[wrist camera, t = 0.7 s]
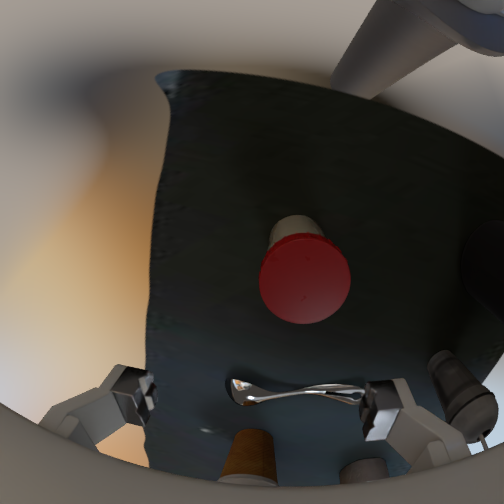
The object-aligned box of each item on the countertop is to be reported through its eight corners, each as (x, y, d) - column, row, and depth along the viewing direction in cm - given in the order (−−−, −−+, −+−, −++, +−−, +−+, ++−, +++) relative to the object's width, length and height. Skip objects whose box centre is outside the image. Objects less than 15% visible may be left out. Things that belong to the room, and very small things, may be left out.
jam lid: (284, 216, 21) (284, 221, 19) (361, 255, 21) (368, 263, 20) (246, 291, 23) (243, 302, 21) (319, 324, 23) (321, 336, 22)
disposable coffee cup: (246, 457, 43) (238, 511, 32) (213, 430, 41) (198, 489, 30) (293, 444, 41) (292, 503, 29) (263, 415, 39) (256, 480, 27)
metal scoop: (375, 396, 32) (365, 419, 33) (371, 378, 35) (362, 402, 36) (220, 383, 34) (220, 407, 36) (226, 366, 38) (226, 390, 39)
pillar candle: (351, 483, 45) (357, 538, 30) (330, 470, 43) (335, 532, 29) (392, 465, 42) (405, 521, 28) (376, 451, 41) (390, 515, 26)
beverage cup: (443, 382, 35) (493, 475, 16) (410, 379, 35) (457, 486, 16) (467, 344, 33) (533, 434, 14) (434, 339, 33) (502, 444, 14)
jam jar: (284, 205, 30) (286, 226, 20) (334, 230, 30) (360, 263, 20) (259, 255, 32) (249, 297, 22) (308, 278, 32) (319, 328, 22)
